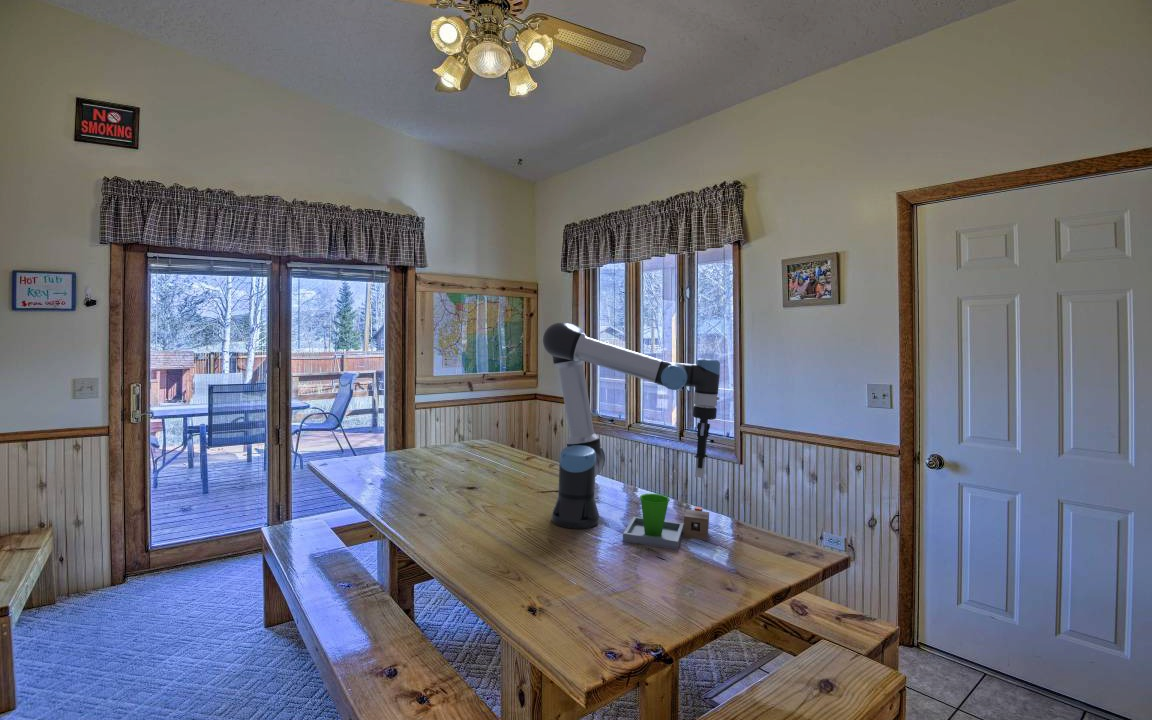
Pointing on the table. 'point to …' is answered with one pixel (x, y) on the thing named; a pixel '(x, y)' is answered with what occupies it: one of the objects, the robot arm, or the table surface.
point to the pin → (695, 524)
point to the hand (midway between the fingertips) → (699, 476)
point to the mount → (699, 518)
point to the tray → (666, 539)
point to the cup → (654, 513)
